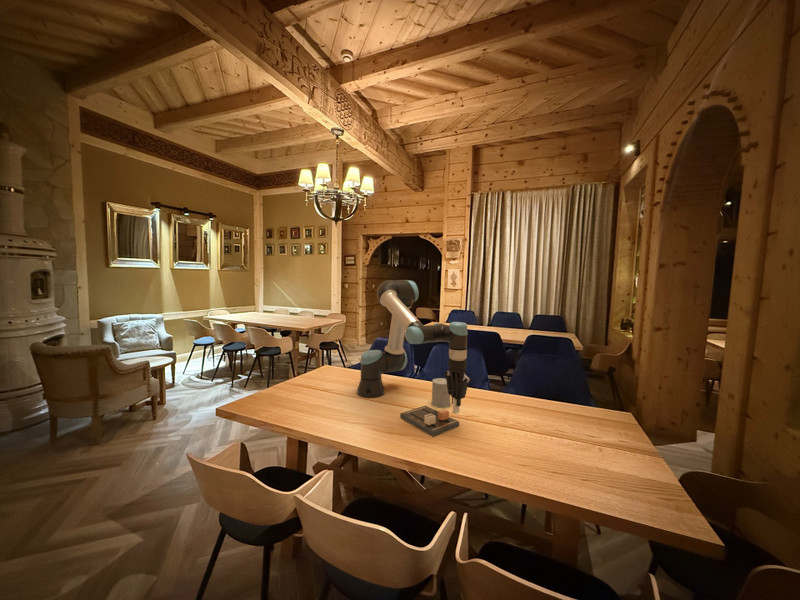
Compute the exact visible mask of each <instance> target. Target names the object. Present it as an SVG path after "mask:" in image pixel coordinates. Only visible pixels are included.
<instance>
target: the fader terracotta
mask: <svg viewBox="0 0 800 600" xmlns="http://www.w3.org/2000/svg"><path fill="white" fill-rule="evenodd" d="M449 417H450V411H449V410H448V409H446V408H442V409H440V410H438V419H440V420H442V421H443V420H446V419H448V418H449Z"/></svg>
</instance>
